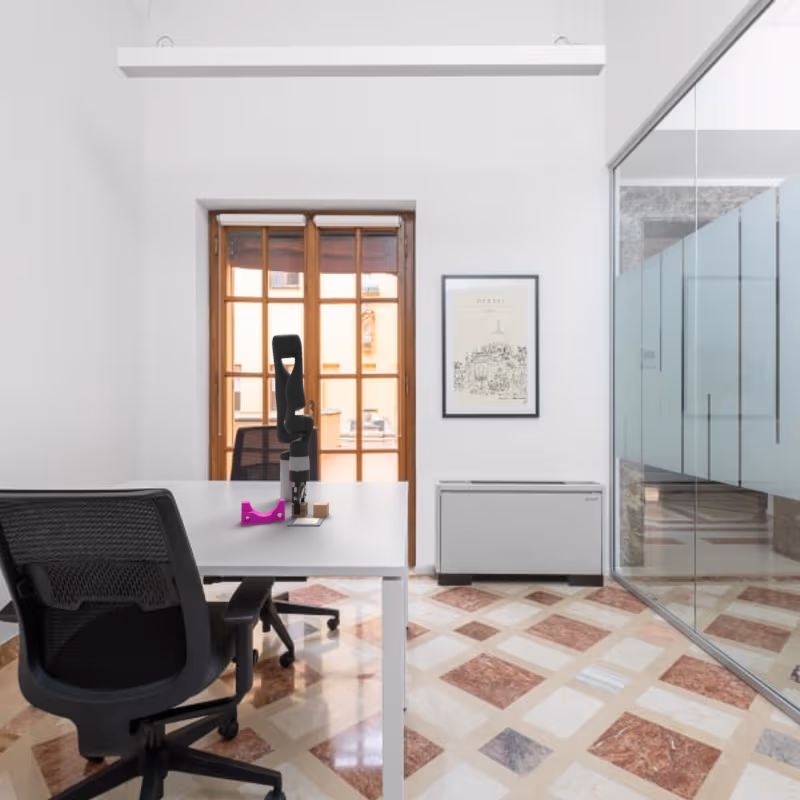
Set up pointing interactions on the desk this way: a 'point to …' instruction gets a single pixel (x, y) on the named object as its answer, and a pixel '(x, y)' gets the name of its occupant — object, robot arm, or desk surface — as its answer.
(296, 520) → the blue bordered cream board
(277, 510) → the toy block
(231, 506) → the desk surface
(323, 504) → the terracotta cube
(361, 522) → the desk surface
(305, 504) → the walnut cube
